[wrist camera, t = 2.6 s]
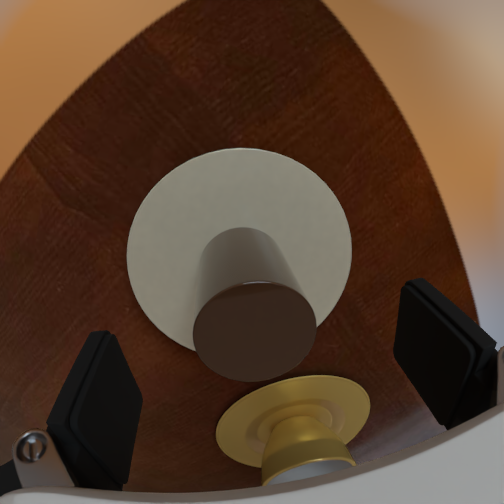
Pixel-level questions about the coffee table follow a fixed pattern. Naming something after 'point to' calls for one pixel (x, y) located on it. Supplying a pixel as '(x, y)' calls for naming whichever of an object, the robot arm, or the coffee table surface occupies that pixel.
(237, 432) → the cup
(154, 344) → the coffee table surface
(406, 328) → the robot arm
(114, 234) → the coffee table surface
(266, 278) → the lid
